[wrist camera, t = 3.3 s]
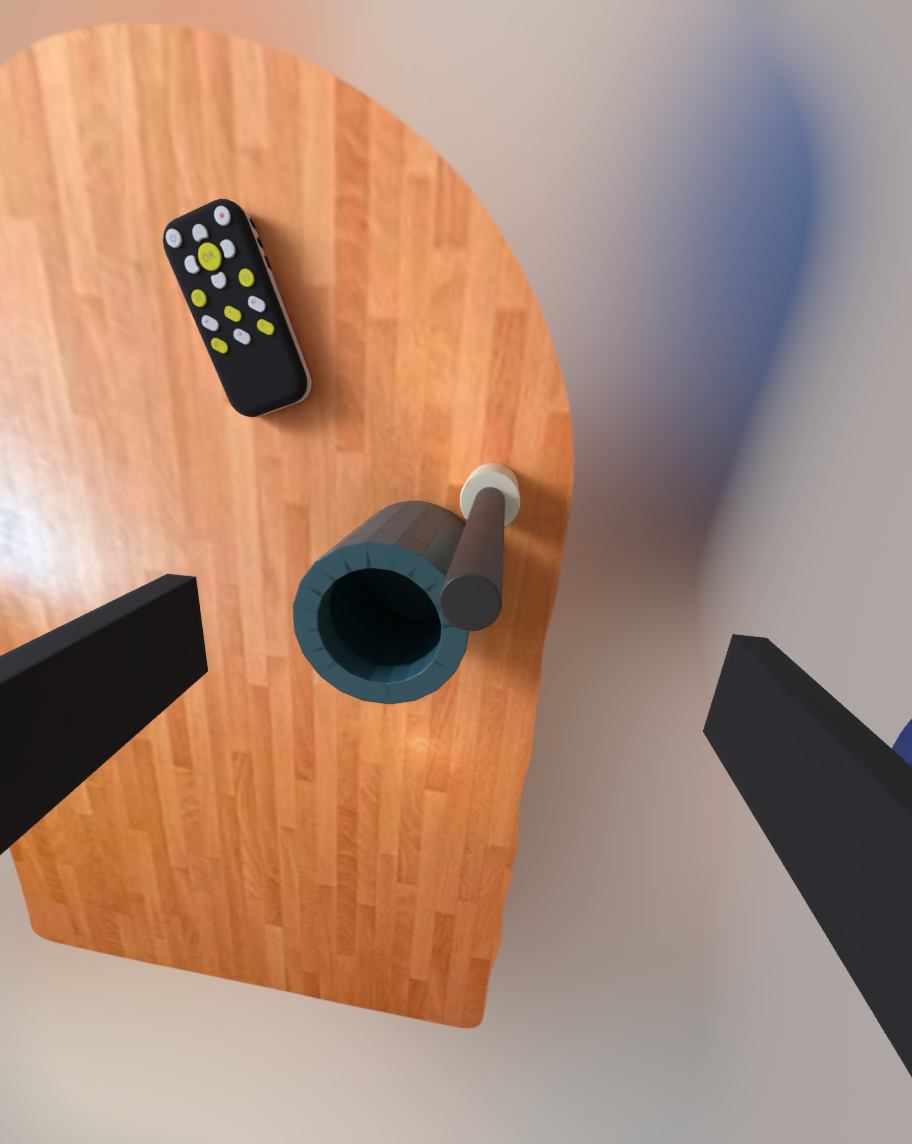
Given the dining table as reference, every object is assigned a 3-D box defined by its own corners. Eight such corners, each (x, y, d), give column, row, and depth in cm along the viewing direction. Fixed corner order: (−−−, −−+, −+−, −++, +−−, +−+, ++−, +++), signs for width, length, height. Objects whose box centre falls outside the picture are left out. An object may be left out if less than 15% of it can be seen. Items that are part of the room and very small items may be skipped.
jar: (485, 507, 36) (474, 552, 25) (473, 626, 39) (460, 713, 28) (356, 495, 37) (288, 533, 25) (356, 613, 40) (296, 693, 29)
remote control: (248, 422, 36) (233, 422, 34) (169, 235, 32) (148, 225, 30) (320, 396, 34) (309, 395, 33) (247, 199, 31) (230, 186, 29)
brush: (521, 465, 35) (542, 549, 14) (515, 517, 36) (525, 666, 15) (468, 460, 35) (410, 536, 14) (463, 512, 36) (405, 652, 16)
